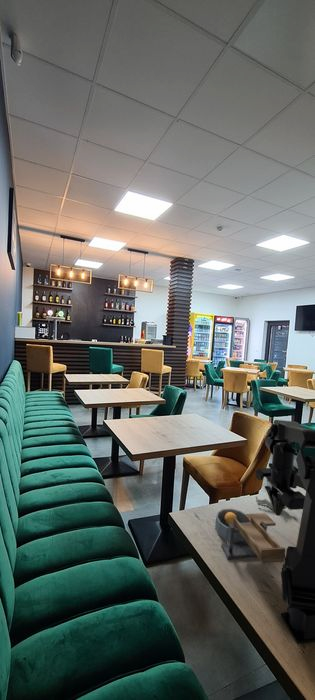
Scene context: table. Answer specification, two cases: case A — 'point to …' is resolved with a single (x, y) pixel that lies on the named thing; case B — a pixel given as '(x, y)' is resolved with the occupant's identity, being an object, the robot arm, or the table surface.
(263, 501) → the soldier figure
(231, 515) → the ball
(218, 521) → the cup
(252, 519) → the lever
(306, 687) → the table surface
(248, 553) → the lever stand
